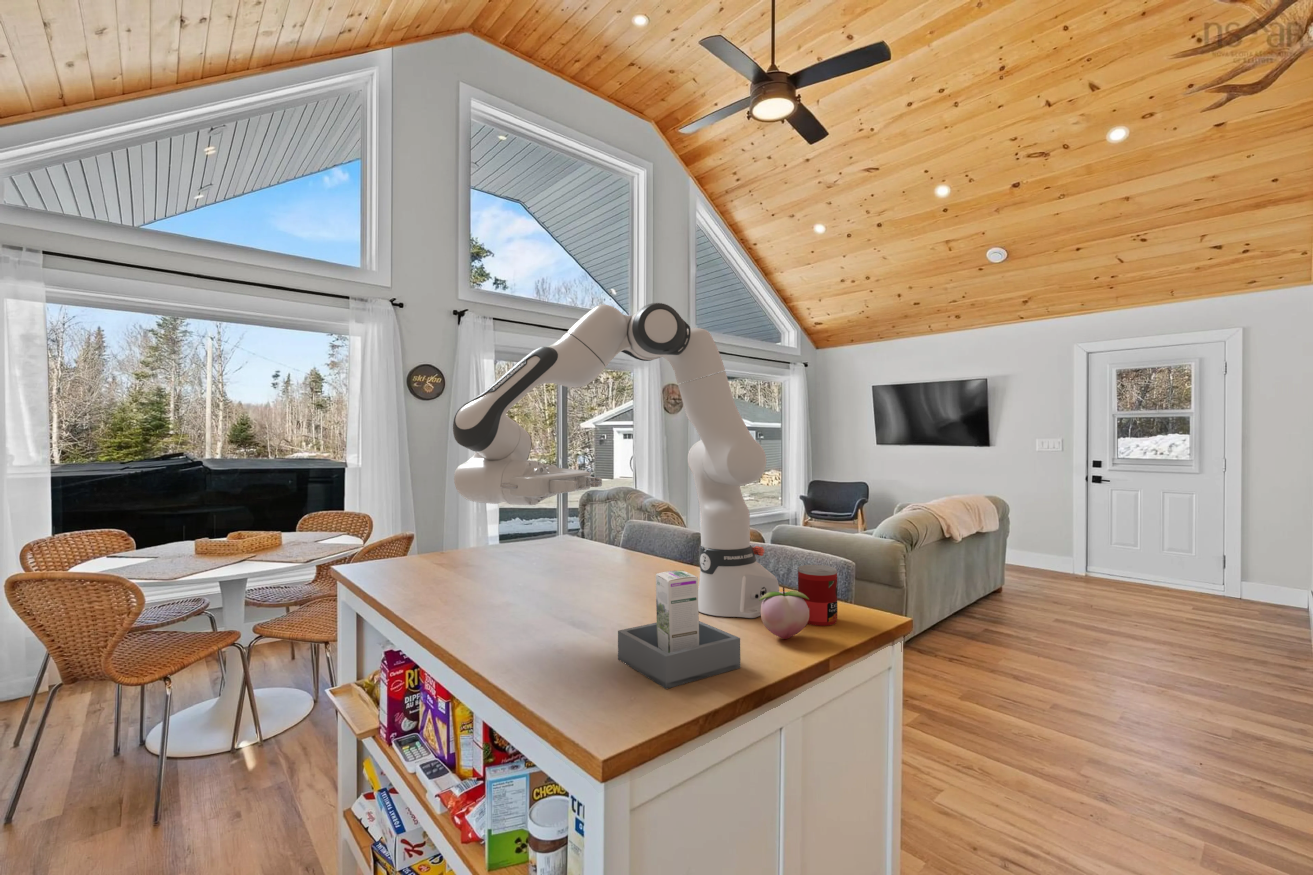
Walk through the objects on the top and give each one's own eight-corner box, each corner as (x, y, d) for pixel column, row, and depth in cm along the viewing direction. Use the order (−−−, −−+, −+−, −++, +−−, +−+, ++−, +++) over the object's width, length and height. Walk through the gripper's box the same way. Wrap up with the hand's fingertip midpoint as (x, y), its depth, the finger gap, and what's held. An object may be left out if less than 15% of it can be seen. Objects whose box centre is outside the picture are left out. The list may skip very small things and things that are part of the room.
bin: (687, 642, 112) (687, 616, 112) (740, 667, 100) (740, 637, 100) (618, 659, 104) (617, 630, 104) (666, 689, 91) (665, 656, 91)
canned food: (836, 628, 120) (836, 573, 120) (796, 624, 123) (795, 570, 123) (838, 617, 127) (838, 565, 127) (800, 613, 130) (800, 563, 130)
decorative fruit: (799, 630, 119) (798, 580, 119) (815, 644, 111) (814, 590, 111) (753, 632, 118) (753, 582, 118) (766, 647, 109) (765, 592, 109)
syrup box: (700, 661, 100) (700, 575, 100) (669, 667, 98) (668, 579, 98) (685, 651, 106) (685, 569, 106) (655, 656, 103) (654, 572, 103)
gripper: (494, 469, 109) (560, 470, 103) (554, 464, 128) (612, 465, 122) (494, 504, 109) (560, 506, 103) (554, 494, 128) (612, 495, 122)
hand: (588, 484), depth 113 cm, fingers open, 8 cm apart
